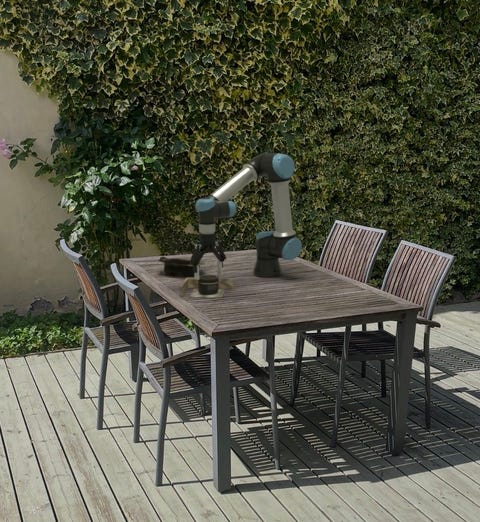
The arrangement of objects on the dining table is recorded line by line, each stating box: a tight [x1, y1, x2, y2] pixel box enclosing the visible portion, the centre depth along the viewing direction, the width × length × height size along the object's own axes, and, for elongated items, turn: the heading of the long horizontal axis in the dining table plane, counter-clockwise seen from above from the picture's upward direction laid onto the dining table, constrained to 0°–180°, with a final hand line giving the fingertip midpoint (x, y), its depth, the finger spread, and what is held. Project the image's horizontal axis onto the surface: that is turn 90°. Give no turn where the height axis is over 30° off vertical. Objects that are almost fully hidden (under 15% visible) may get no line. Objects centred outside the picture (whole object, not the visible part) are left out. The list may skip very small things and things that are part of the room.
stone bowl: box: [158, 256, 206, 278], centre depth 394 cm, size 25×25×9 cm
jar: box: [197, 274, 219, 295], centre depth 351 cm, size 10×10×8 cm
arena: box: [179, 277, 234, 299], centre depth 353 cm, size 23×20×5 cm
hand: (208, 277), depth 350 cm, fingers open, 13 cm apart
